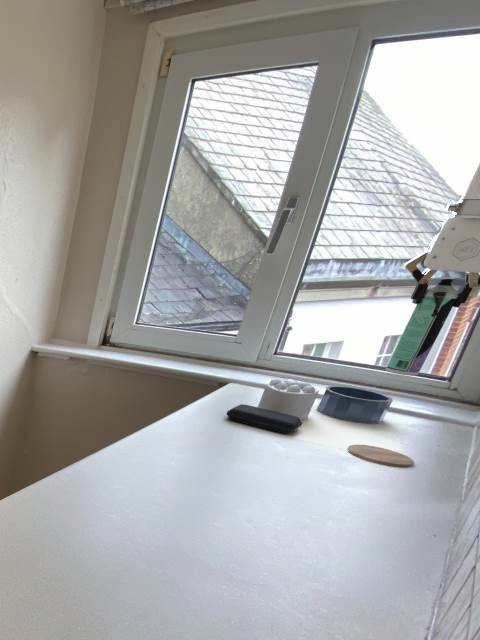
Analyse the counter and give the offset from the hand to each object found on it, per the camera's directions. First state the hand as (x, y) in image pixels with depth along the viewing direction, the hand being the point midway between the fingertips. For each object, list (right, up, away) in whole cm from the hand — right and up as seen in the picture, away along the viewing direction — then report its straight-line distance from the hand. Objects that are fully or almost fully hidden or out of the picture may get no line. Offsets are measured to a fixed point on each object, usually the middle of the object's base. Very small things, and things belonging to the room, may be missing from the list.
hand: (435, 304), depth 117 cm
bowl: (+10, -20, +31) cm, 38 cm away
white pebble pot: (-10, -20, +29) cm, 37 cm away
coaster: (-8, -32, +4) cm, 34 cm away
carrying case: (-20, -24, +22) cm, 38 cm away
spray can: (-1, -14, +7) cm, 15 cm away
